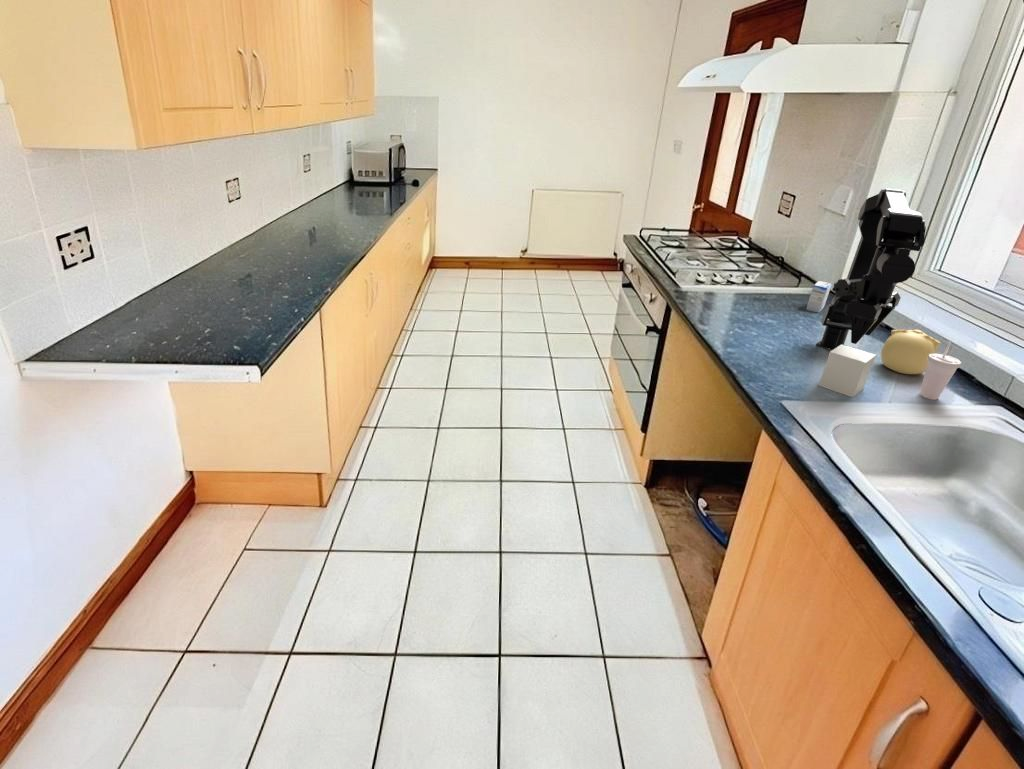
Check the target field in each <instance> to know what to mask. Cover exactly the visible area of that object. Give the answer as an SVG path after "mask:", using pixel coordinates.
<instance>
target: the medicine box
mask: <svg viewBox="0 0 1024 769" xmlns="http://www.w3.org/2000/svg"><path fill="white" fill-rule="evenodd" d="M831 287H832V283H829V282H825V281H821V280H818V281H817V282H815V284H813V286H812V289H811V291H810V292H811V293H810V294H809V298H808V299H809V300H808V302H807V305H806V311H810V312H814V313H821V311H822V310H823V309H824V307H825V305H826V303H827V299H828V297H829V294H830V291H831Z"/></svg>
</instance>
